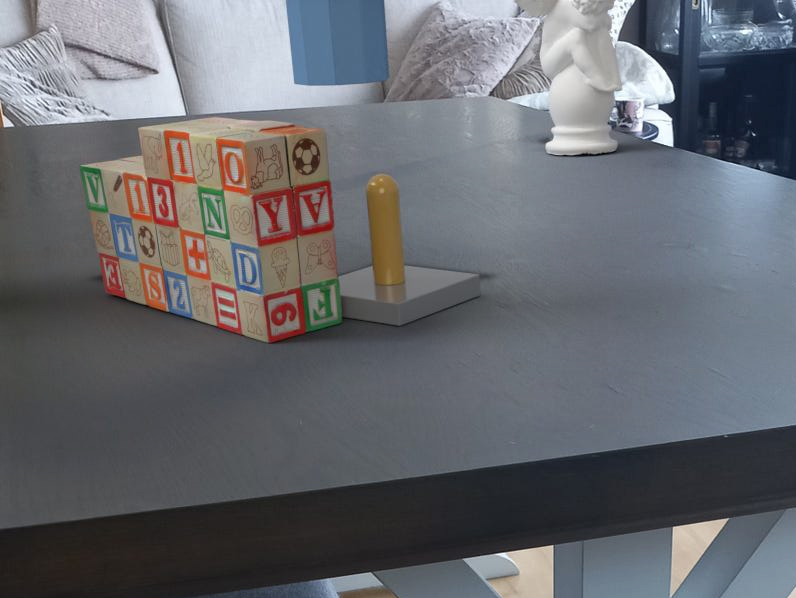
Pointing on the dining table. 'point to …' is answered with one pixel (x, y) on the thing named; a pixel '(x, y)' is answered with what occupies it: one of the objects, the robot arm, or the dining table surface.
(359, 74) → the sleeve
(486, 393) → the dining table surface
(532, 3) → the cherub figurine
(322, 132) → the stack of blocks
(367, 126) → the dining table surface
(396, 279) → the peg stand
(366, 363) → the dining table surface
